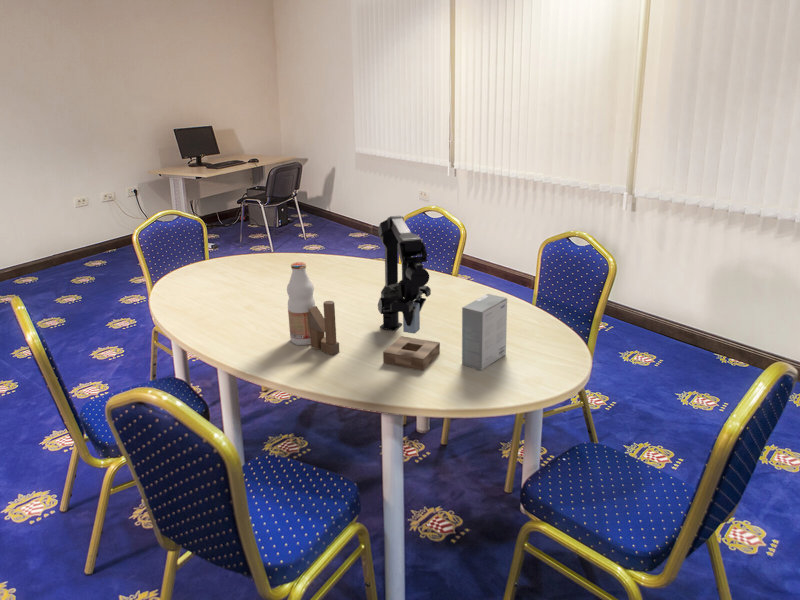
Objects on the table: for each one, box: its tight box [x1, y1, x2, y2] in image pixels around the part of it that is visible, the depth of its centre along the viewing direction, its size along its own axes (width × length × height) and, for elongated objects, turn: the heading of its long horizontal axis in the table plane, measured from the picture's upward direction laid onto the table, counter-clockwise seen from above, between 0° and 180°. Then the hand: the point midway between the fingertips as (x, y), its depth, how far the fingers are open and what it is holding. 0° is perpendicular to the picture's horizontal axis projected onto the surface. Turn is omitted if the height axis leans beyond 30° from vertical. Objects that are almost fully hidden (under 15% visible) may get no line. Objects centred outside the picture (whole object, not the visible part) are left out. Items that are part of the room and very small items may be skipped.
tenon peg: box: [402, 303, 421, 335], centre depth 202 cm, size 4×4×9 cm
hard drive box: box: [461, 293, 508, 371], centre depth 201 cm, size 16×8×20 cm, turn 141°
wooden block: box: [309, 300, 340, 356], centre depth 211 cm, size 4×11×18 cm, turn 48°
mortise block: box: [382, 335, 441, 371], centre depth 206 cm, size 14×14×4 cm
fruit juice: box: [286, 261, 316, 346], centre depth 217 cm, size 9×9×28 cm
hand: (411, 323), depth 202 cm, fingers closed on tenon peg, 4 cm apart
